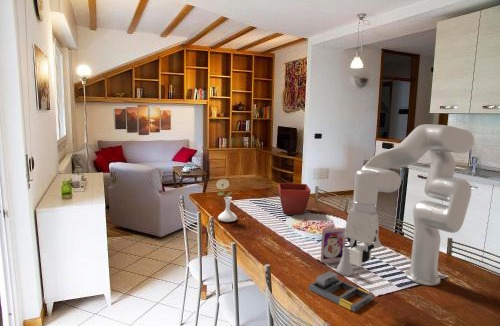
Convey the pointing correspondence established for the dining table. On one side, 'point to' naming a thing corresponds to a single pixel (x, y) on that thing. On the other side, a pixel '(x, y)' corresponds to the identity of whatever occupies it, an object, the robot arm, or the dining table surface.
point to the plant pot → (294, 197)
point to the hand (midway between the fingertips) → (359, 258)
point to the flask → (345, 264)
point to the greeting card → (332, 244)
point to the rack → (330, 284)
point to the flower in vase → (227, 214)
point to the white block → (357, 254)
